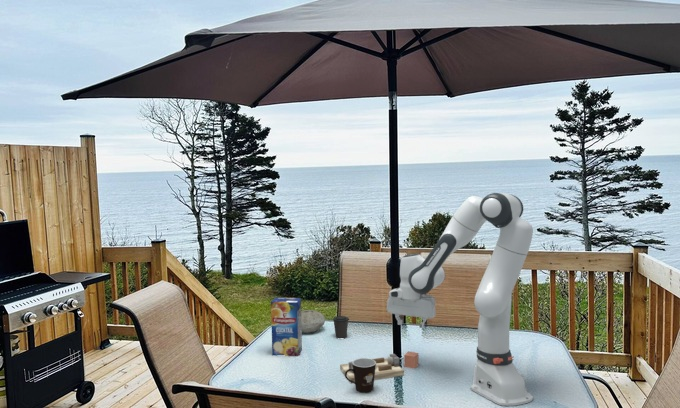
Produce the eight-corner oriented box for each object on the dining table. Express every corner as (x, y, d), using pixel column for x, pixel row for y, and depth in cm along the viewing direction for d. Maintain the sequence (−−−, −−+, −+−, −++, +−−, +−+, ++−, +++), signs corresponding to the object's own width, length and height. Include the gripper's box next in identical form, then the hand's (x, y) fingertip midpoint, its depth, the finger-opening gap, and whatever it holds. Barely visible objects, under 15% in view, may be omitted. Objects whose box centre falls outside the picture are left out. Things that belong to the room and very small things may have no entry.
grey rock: (287, 327, 255) (287, 308, 254) (320, 323, 260) (319, 305, 259) (294, 337, 238) (294, 317, 237) (329, 333, 243) (329, 313, 242)
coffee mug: (374, 383, 183) (374, 357, 183) (377, 393, 175) (377, 366, 174) (344, 384, 183) (343, 358, 182) (345, 394, 174) (344, 367, 174)
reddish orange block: (418, 364, 201) (418, 353, 201) (414, 368, 197) (414, 356, 197) (408, 363, 203) (408, 351, 203) (404, 366, 199) (404, 355, 199)
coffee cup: (330, 335, 239) (329, 316, 239) (345, 333, 243) (344, 313, 242) (337, 340, 232) (336, 320, 231) (352, 338, 235) (351, 317, 235)
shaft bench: (404, 375, 190) (403, 362, 190) (350, 383, 184) (350, 369, 184) (390, 362, 204) (390, 349, 203) (340, 369, 197) (340, 356, 197)
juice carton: (272, 355, 215) (270, 301, 213) (276, 349, 222) (275, 297, 221) (298, 356, 213) (297, 302, 211) (302, 350, 220) (301, 298, 219)
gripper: (437, 293, 196) (437, 327, 197) (390, 288, 206) (391, 320, 207) (433, 297, 191) (433, 331, 191) (385, 292, 200) (385, 324, 201)
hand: (410, 326), depth 199 cm, fingers open, 8 cm apart
